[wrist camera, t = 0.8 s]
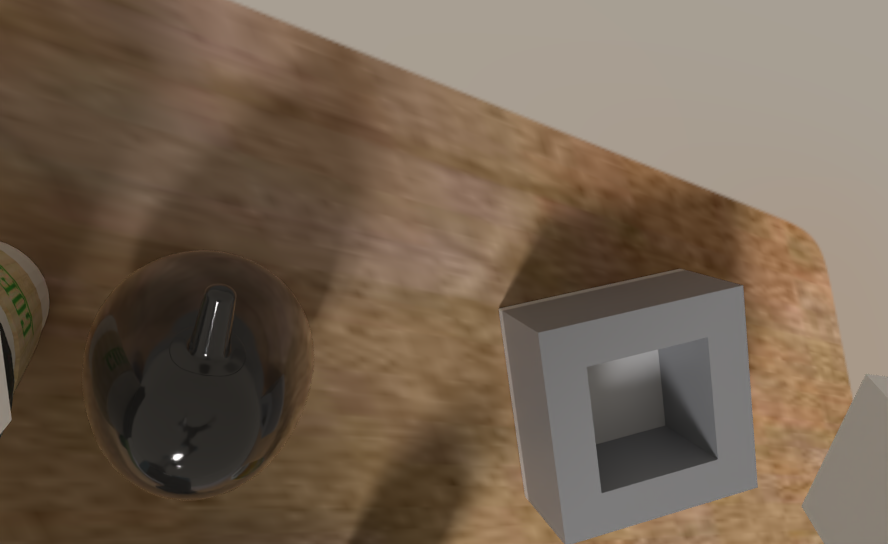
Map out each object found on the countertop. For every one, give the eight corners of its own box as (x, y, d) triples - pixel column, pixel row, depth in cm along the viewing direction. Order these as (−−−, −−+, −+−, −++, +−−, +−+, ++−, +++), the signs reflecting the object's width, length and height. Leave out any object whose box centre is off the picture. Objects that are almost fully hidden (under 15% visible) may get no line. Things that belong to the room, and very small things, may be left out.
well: (696, 447, 48) (757, 487, 43) (525, 496, 46) (565, 545, 40) (680, 268, 46) (743, 285, 40) (498, 308, 43) (538, 332, 37)
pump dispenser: (325, 258, 40) (373, 320, 26) (284, 441, 41) (307, 599, 27) (125, 217, 37) (51, 259, 23) (85, 414, 38) (-10, 576, 24)
